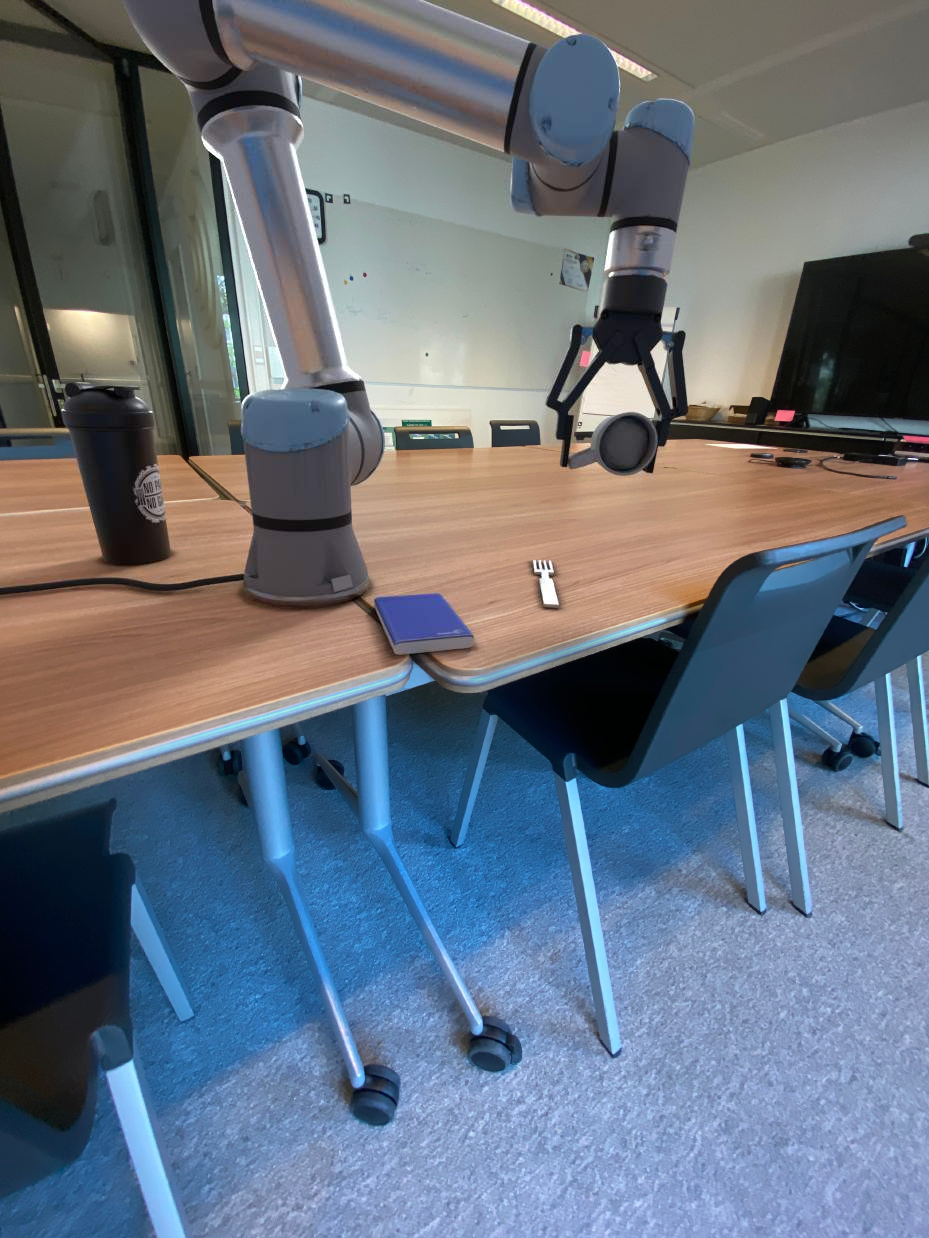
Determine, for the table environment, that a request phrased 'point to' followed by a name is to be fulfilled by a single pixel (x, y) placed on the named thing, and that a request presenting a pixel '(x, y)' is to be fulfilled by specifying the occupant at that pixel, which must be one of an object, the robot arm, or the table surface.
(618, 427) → the ceramic mug
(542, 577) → the fork
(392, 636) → the hard drive
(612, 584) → the table surface
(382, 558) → the table surface
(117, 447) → the water bottle
